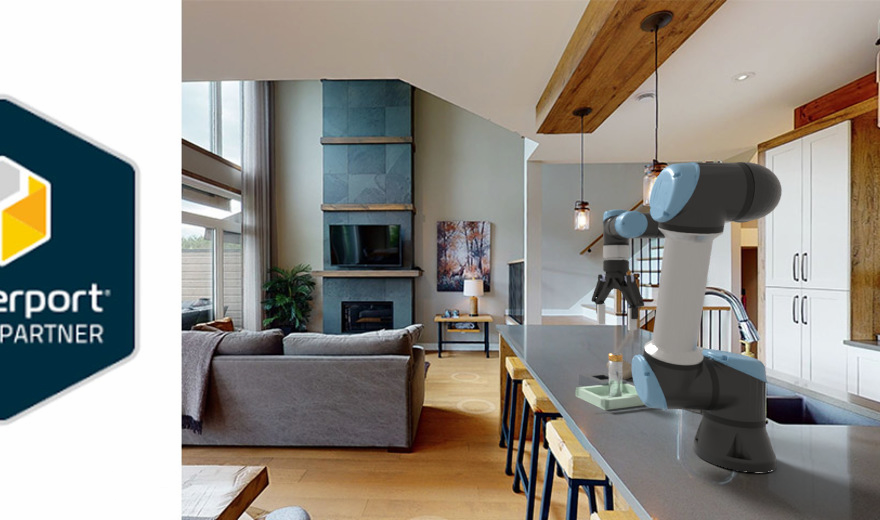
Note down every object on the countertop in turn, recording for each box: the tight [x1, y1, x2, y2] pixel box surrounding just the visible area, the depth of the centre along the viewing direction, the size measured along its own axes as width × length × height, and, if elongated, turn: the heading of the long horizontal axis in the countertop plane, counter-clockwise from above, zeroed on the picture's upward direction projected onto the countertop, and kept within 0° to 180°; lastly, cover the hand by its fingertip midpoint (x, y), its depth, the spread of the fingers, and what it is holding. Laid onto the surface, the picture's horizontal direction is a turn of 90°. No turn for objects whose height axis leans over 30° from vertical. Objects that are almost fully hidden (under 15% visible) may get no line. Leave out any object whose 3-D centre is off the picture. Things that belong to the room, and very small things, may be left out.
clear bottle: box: [608, 352, 624, 398], centre depth 133 cm, size 4×4×14 cm
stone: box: [606, 359, 633, 380], centre depth 159 cm, size 10×7×10 cm
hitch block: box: [578, 371, 628, 387], centre depth 146 cm, size 12×10×4 cm
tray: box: [575, 382, 646, 411], centre depth 133 cm, size 20×14×3 cm
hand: (616, 327), depth 133 cm, fingers open, 13 cm apart
